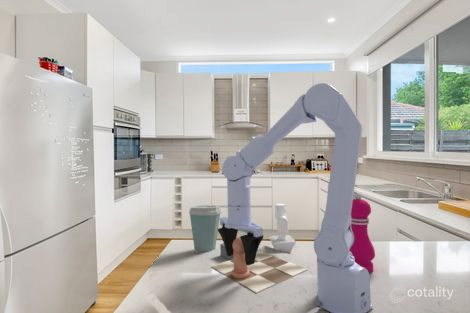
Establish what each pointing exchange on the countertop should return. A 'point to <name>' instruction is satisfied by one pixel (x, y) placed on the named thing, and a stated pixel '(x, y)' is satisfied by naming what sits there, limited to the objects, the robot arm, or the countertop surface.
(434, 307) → the countertop surface
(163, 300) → the countertop surface
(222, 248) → the die
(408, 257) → the countertop surface
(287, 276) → the board
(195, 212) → the disposable coffee cup
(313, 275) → the countertop surface
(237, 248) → the pawn
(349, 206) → the robot arm
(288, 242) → the figurine
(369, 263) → the pepper mill
